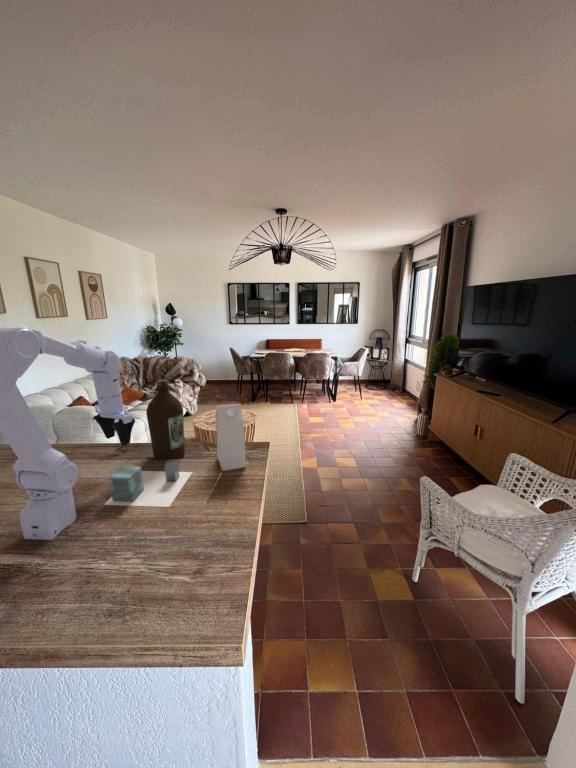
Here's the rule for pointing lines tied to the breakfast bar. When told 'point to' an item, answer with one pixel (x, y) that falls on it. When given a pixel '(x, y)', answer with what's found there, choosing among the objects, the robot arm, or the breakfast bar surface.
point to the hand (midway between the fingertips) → (118, 440)
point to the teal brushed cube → (126, 484)
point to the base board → (156, 490)
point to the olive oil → (166, 424)
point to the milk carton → (230, 436)
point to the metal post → (171, 470)
